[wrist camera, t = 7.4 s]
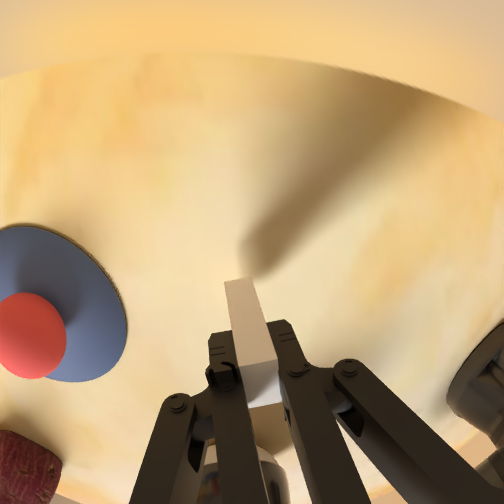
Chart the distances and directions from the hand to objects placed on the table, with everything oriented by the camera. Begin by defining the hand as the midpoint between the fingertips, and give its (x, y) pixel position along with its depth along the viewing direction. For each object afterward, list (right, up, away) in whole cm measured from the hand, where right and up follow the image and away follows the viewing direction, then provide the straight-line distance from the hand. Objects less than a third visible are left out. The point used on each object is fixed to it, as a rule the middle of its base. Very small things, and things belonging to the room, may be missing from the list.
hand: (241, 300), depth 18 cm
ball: (-13, -3, -2) cm, 14 cm away
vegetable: (-27, -22, +8) cm, 36 cm away
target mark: (-14, -2, 0) cm, 14 cm away
